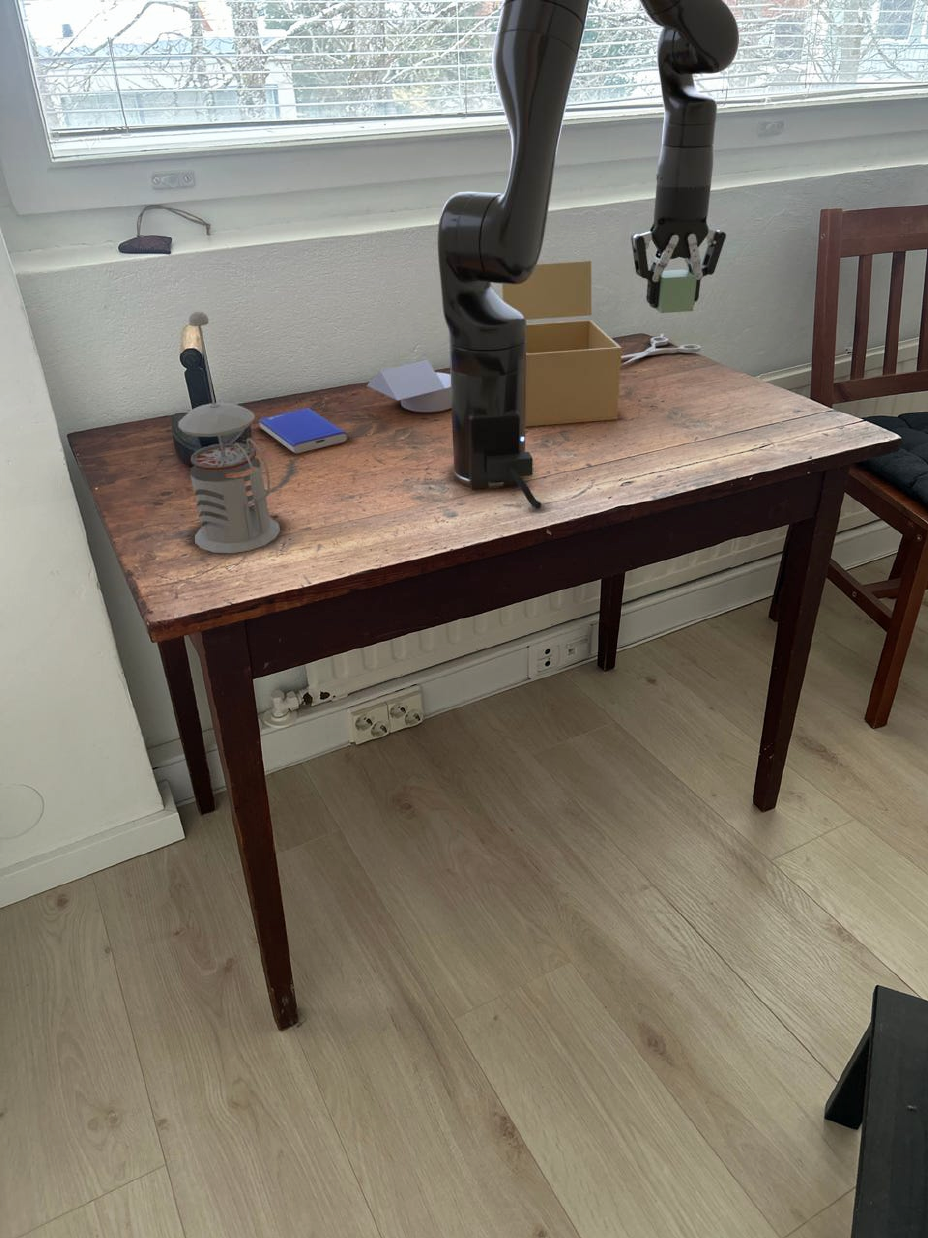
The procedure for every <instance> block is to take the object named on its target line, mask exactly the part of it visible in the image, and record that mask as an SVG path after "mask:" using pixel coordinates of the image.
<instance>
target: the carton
mask: <svg viewBox="0 0 928 1238" xmlns="http://www.w3.org/2000/svg"><path fill="white" fill-rule="evenodd" d="M526 327H527V334H526V423H525V428H526V427H538V426H539V427H540V426H550V425H563V424H574V423H586V422H587V423H588V422H600V421H613V420H617V419H618V413H619V397H620V381H621V366H622V358H621V356H622V353H623V347H621V345H620V344H618V343H617V341H615V340H614V339H613V338H612V337H611V336H610V335H608V334H607V333H606V332H605V330H603V329H602V328H601V327H600V326H598V324H597V323H596V322H594V321H593V320H592V319H584V320H569V321H568V320H566V321H554V322H539V323H526Z"/></svg>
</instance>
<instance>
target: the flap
mask: <svg viewBox="0 0 928 1238" xmlns="http://www.w3.org/2000/svg"><path fill="white" fill-rule="evenodd" d="M501 294H502V296H501V297H502V298H501V299H502V300H503V301H505V302H506V303H507V304H509V305H510V306H512V307H513V308H515V309H517V310H518V311H520V312H521V313H522V314H523V315H524V317H525V319H526V321H527V320H529V321H530V320H543V319H544V320H545V319H557V318H571V317H572V318H573V317H586V316H587V317H588V316H592V261H591V260H587V261H585V260H584V261H570V262H553V263H537V265H536V267H535V269H534V271H533V273H532V274H531V276H530V277H529V278H528V279H527V280H526V281H525V282H523V283H521V284H515V285H511V284H501Z"/></svg>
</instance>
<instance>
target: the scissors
mask: <svg viewBox="0 0 928 1238" xmlns="http://www.w3.org/2000/svg"><path fill="white" fill-rule="evenodd" d="M665 335H666V334H665V333H660V336H653V337H651V338H650V344H651V345H650V347H648V348H646V349H645V350H644V351H640V352H635V353H629V354H625V355H621V359H623V358H630V359H629V360H627V361H625V362H623V363H621V366H622V365H626V364H628V363H630V362H633V361H636V360H639V359H641V358H644V357H648V356H655V355H660V354H661V355H662V354H674V353H685V354H690V353H691V354H694V353H699V352H701V345H699V344H692V343H691V344H682V345H680V347H674V348H656V347H659V346H666V345H668V343H669V338H668V337H665ZM631 357H632V358H631Z"/></svg>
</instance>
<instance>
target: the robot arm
mask: <svg viewBox="0 0 928 1238" xmlns="http://www.w3.org/2000/svg"><path fill="white" fill-rule="evenodd" d="M637 2H638V3H639V6H641V8H642V10H643V12H644V13H645V15H646V16H647V18H648V19H649V21H651V23H652V24H654V25H655V26H658V27H660V28H661V29H660V32H659V35H658V38H657V43H656V61H657V62H656V64H657V65H656V66H657V70H658V71H657V72H658V77H659V84H660V91H661V99H662V104H663V112H664V113H663V114H664V115H663V125H662V137H661V138H662V139H661V148H660V154H659V157H658V164H657V172H656V177H655V179H656V187H655V189H656V190H655V197H654V198H655V200H654V213H653V223H652V225H651V227H650V229H649V231H646V232H643V233H640V234H638V233H633V234H632V235H631V237H630V240H631V249H632V255H633V261H634V270H635V274H636V275H637V276H639V277H640V278H642V279H645V280H646V281H647V285H646V297H645V299H646V302H647V304H649V307H651V308H652V309H655V308H658V304H659V293H660V282H659V280H660V278H661V275H662V273H663V271H665V269H666V268H667V266H668V264H669V262H670V260H674V259H678V258H681V259H684V262H685V263H686V266H687V271H688V272H690V273H692V274H694V275H696V276H697V280H696V289H695V298H694V305H695V303H696V302H698V300H699V298H700V297H699V296H700V289H701V282H702V279H703V278H704V277H706V276H711V275H714V273H715V271H716V268H717V266H718V263H719V259H720V256H721V253H722V250H723V247H724V245H725V241H726V238H727V233H726V232H724V231H722V230H721V229H710V228H709V226H708V222H707V219H708V215H709V205H710V196H711V189H712V181H713V179H712V178H713V169H714V145H715V135H716V126H717V125H716V124H717V117H718V104H717V101H716V99H714V98H713V96H709V95H707V94H704V93H702V92H699V91H698V90H697V87H696V83H695V78H694V75H714V74H718V73H721V72H723V71H725V70H726V69H727V68H728V67H729V66H730V65H731V64H732V63H733V62H734V59H735V58H736V56H737V53H738V50H739V45H740V30H739V25H738V22H737V19H736V17H735V15H734V12H733V11H732V10H731V8H730V6H729V5H728V4H727V3H726V2H725V1H724V0H637ZM590 3H591V0H503V1H502V4H501V8H500V13H499V18H498V23H497V28H496V33H495V36H494V42H493V46H492V47H493V48H492V55H491V64H492V75H493V80H494V83H495V84H494V85H495V87H496V91H497V94H498V97H499V100H500V104H501V107H502V110H503V112H504V116H505V119H506V122H507V126H508V128H509V134H510V139H511V159H510V166H509V173H508V180H507V184H506V188H505V191H504V193H498V192H485V191H484V192H483V191H482V192H481V191H459V192H456V193H454V194H453V195H452V196H450V198H448V199H447V201H446V202H445V203H444V205H443V208H442V210H441V213H440V217H439V221H438V227H437V259H438V260H437V261H438V269H439V272H438V273H439V280H440V291H441V304H442V313H443V318H444V321H445V325H446V326H447V329H448V342H449V368H450V369H449V373H450V375H451V403H452V408H451V427H452V451H453V452H452V453H453V455H452V456H453V467H452V473H453V477H454V479H455V480H456V481H457V482H458V483H460V484H463V485H465V486H467V487H469V488H470V489H471V491H476V490H477V491H478V490H487V489H488V490H489V489H500V488H509V487H511V488H512V487H519V489H520V490H521V491H522V493H523V495H524V497H525V498H526V499H527V502H528V503H529V504H530V505H531V506H532V507H533V508H535V509H538V510H539V509H540V508H541V507H542V503H541V502H540V501H538V500H537V499H536V498H535V496H534V495H533V493H532V491H531V490H530V488H529V486H528V484H526V482H525V480H524V479H525V477H528V476H529V477H531V476H533V472H534V471H533V467H534V464H533V462H534V458H533V456H532V455H531V453H530V451H526V427H525V423H526V334H527V327H526V324H527V320H526V319H525V317H524V315H523V314H522V313H521V312H520V311H518V310H517V309H515V308H513V307H512V306H510V305H509V304H507V303H506V302H505V301H503V299H502V298H501V296H500V295H498V293H497V292H496V291H495V290H494V287H493V286H492V283H493V284H501V285H502V284H511V285H515V284H521V283H523V282H525V281H526V280H527V279H528V278H529V277H530V276H531V274H532V273H533V271H534V269H535V267H536V265H537V264H538V262H539V259H540V255H541V252H542V248H543V243H544V238H545V232H546V228H547V227H546V226H547V220H548V213H549V206H550V202H551V201H550V200H551V192H552V187H553V186H552V185H553V180H554V172H555V166H556V159H557V153H558V147H559V142H560V138H561V132H562V127H563V124H564V119H565V113H566V109H567V105H568V100H569V96H570V92H571V88H572V84H573V81H574V76H575V73H576V69H577V65H578V62H579V57H580V52H581V47H582V42H583V40H584V39H583V38H584V35H585V30H586V25H587V18H588V13H589V9H590ZM705 239H706V244H707V247H706V251H705V253H704V256H703V259H702V260H701V256H700V251H699V247H700V246H701V244H702V243H703V242H704V241H705ZM650 241H652V243H653V244H654V246H655V247H656V249H655V251H654V253H653V256H652V258H651V264H650V266H649V264H648V256H647V249H648V248H649V247H650Z"/></svg>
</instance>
